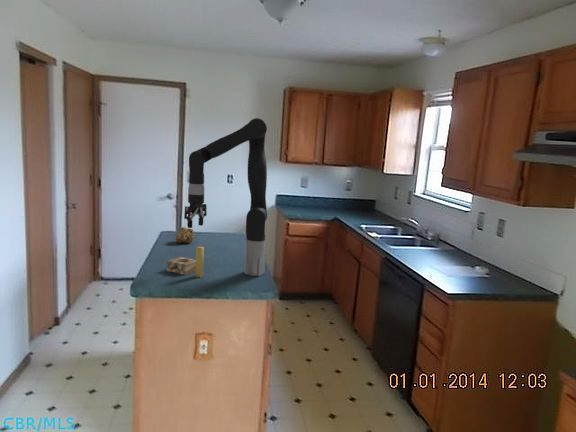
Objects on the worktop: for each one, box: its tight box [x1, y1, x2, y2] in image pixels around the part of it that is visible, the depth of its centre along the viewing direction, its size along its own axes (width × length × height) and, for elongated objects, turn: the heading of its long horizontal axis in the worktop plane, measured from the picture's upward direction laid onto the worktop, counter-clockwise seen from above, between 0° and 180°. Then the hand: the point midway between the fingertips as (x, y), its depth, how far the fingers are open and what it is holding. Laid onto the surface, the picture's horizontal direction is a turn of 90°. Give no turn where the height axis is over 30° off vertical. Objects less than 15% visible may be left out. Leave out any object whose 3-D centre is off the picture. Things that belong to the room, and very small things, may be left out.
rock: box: [175, 226, 196, 244], centre depth 271 cm, size 12×10×10 cm
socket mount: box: [166, 256, 196, 276], centre depth 216 cm, size 11×14×5 cm
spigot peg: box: [194, 246, 205, 278], centre depth 209 cm, size 4×4×14 cm
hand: (195, 226), depth 215 cm, fingers open, 8 cm apart
